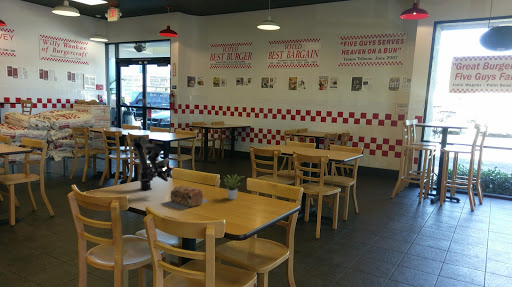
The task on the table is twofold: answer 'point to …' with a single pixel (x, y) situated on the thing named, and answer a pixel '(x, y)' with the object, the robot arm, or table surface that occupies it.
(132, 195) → the table surface
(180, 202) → the bread
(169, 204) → the serving mat
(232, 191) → the house plant
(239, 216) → the table surface
